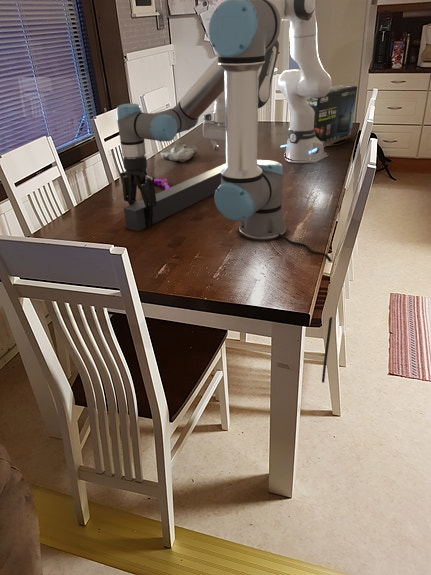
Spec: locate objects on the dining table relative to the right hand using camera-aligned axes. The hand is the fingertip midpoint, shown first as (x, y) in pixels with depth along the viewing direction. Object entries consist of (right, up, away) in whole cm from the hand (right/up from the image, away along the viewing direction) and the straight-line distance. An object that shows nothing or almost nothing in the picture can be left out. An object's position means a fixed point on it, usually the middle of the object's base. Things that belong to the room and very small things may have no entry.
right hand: (225, 151), depth 186 cm
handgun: (-27, -14, +4) cm, 30 cm away
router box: (+54, +22, +58) cm, 83 cm away
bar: (-14, -22, -10) cm, 28 cm away
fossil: (-23, +10, +43) cm, 50 cm away
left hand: (-29, -33, -28) cm, 52 cm away
